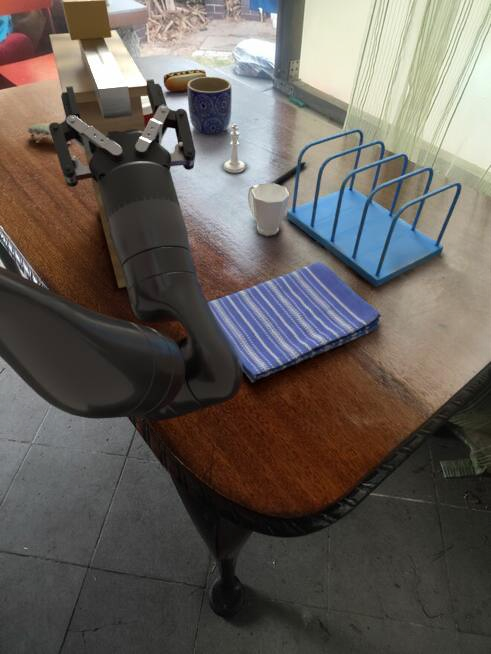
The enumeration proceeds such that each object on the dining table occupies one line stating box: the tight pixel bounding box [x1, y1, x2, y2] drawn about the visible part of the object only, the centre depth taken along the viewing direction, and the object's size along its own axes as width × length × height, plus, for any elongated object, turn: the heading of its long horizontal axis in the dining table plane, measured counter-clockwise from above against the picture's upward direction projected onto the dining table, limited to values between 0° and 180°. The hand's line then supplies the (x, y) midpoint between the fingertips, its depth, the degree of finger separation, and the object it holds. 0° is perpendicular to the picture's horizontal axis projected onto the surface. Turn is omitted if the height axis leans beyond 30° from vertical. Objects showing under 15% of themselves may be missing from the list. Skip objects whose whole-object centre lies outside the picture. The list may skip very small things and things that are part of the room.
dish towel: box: [207, 261, 382, 383], centre depth 71 cm, size 17×24×3 cm
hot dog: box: [163, 69, 207, 93], centre depth 136 cm, size 5×13×5 cm, turn 115°
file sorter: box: [286, 128, 462, 288], centre depth 82 cm, size 25×17×15 cm
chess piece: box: [223, 123, 246, 174], centre depth 102 cm, size 5×5×10 cm
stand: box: [48, 29, 148, 289], centre depth 73 cm, size 25×10×31 cm, turn 20°
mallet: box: [60, 0, 132, 119], centre depth 53 cm, size 22×5×7 cm, turn 20°
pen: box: [271, 161, 307, 185], centre depth 102 cm, size 1×16×1 cm, turn 142°
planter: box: [186, 76, 233, 136], centre depth 115 cm, size 11×11×11 cm
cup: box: [247, 182, 291, 237], centre depth 86 cm, size 7×10×8 cm
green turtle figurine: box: [27, 122, 71, 145], centre depth 110 cm, size 9×11×5 cm
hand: (110, 88), depth 49 cm, fingers open, 8 cm apart
